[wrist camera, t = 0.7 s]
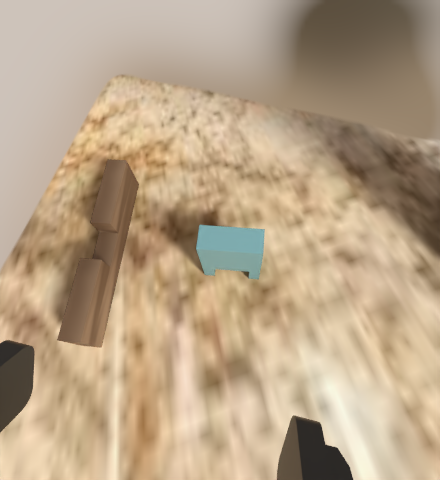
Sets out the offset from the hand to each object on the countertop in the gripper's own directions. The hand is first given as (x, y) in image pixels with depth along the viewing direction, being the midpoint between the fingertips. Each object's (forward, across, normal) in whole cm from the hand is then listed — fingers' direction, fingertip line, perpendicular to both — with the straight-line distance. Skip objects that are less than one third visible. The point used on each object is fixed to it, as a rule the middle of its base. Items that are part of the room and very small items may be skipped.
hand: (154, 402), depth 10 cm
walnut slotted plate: (+27, +13, +7) cm, 31 cm away
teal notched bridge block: (+27, -1, +5) cm, 28 cm away
